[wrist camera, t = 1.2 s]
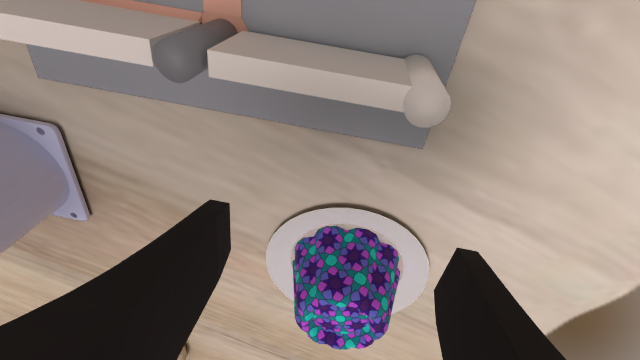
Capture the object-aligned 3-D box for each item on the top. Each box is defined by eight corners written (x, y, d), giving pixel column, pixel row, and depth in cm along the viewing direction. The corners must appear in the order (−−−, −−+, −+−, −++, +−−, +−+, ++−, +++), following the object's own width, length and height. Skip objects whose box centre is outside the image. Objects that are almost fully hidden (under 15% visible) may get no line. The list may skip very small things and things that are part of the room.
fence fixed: (32, 18, 17) (-74, 36, 13) (20, -18, 16) (-99, -10, 12) (239, 56, 16) (197, 86, 12) (239, 21, 15) (193, 41, 11)
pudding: (248, 206, 23) (219, 263, 18) (427, 193, 20) (442, 257, 16) (288, 311, 29) (274, 372, 25) (428, 312, 26) (439, 380, 22)
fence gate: (243, 59, 16) (204, 88, 12) (243, 23, 15) (201, 43, 11) (425, 91, 16) (441, 131, 12) (437, 57, 15) (458, 89, 11)
